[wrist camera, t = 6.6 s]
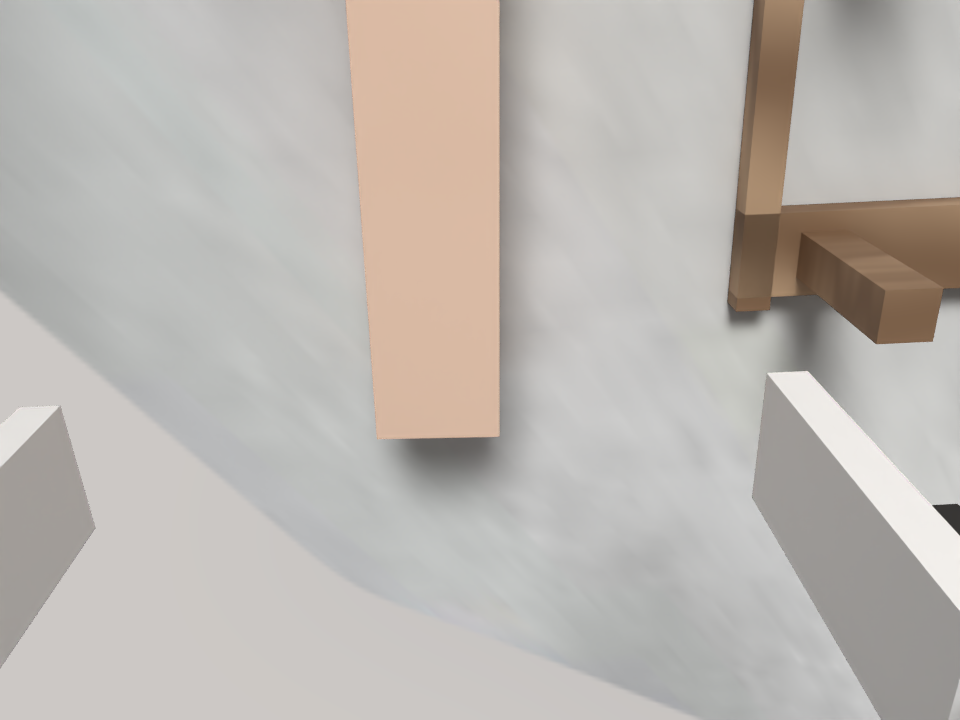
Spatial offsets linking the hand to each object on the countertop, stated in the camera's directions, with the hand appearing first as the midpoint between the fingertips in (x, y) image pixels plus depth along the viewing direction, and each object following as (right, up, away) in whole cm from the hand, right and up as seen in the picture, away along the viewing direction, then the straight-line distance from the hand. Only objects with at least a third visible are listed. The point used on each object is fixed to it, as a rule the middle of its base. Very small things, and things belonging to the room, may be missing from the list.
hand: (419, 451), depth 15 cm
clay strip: (0, +9, +12) cm, 15 cm away
